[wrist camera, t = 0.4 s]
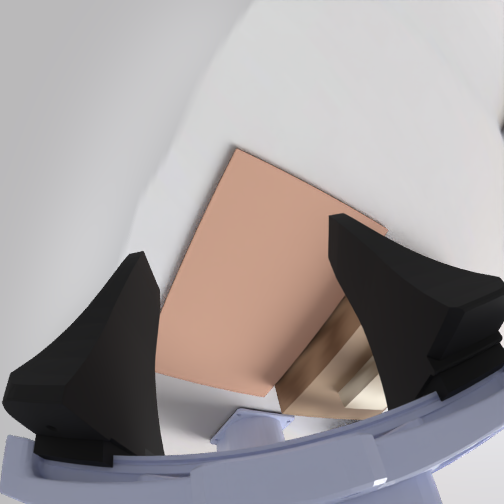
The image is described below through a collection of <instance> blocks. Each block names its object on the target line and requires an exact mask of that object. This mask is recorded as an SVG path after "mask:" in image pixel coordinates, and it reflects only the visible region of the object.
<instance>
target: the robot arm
mask: <svg viewBox="0 0 504 504" xmlns="http://www.w3.org/2000/svg"><path fill="white" fill-rule="evenodd" d="M328 259H329V261H330V264H331V267H332V269H333V272H334V274H335V277H336V279H337V281H338V283H339V284H340V286H341V288H342V290H343V292H344V293H345V295H346V297H347V299H348V301H349V303H350V304H351V306H352V308H353V310H354V312H355V314H356V315H357V317H358V319H359V321H360V323H361V325H362V328H363V330H364V332H365V335H366V338H367V340H368V343H369V346H370V348H371V351H372V354H373V357H374V360H375V363H376V366H377V369H378V373H379V376H380V380H381V383H382V387H383V390H384V395H385V399H386V403H387V407H388V411H387V412H384V413H381V414H379V415H376V416H373V417H370V418H367V419H364V420H361V421H358V422H355V423H352V424H348V425H345V426H342V427H338V428H335V429H331V430H328V431H324V432H320V433H317V434H313V435H309V436H305V437H300V438H296V439H292V440H287V441H285V438H284V434H283V429H284V428H285V427H287V426H288V425H289V424H290V423H291V422H292V421H293V420H294V416H293V415H285V414H277V413H269V412H262V411H255V410H249V409H243V408H240V409H237V410H236V412H235V413H234V414H233V415H232V416H231V417H230V419H229V420H228V421H227V422H226V423H225V424H224V425H223V427H222V428H221V429H220V430H219V431H218V432H217V433H216V434H215V435H214V437H213V438H212V439H211V440H210V443H211V444H215V445H217V452H210V453H200V454H187V455H168V456H165V454H164V449H163V444H162V439H161V433H160V426H159V418H158V410H157V399H156V383H155V358H156V347H157V337H158V328H159V319H160V289H159V287H158V285H157V282H156V280H155V278H154V275H153V273H152V271H151V268H150V266H149V263H148V261H147V258H146V256H145V253H144V251H141V252H137V253H132V254H129V255H128V256H127V257H126V258H125V260H124V261H123V262H122V263H121V265H120V266H119V267H118V269H117V270H116V271H115V273H114V274H113V275H112V276H111V278H110V279H109V280H108V282H107V283H106V284H105V286H104V287H103V288H102V290H101V291H100V292H99V293H98V295H97V296H96V297H95V298H94V300H93V301H92V302H91V303H90V304H89V306H88V307H87V308H86V309H85V310H84V311H83V313H82V314H81V315H80V316H79V317H78V318H77V319H76V320H75V321H74V322H73V323H72V324H71V325H70V326H69V327H68V328H67V330H65V331H64V332H63V333H62V334H61V335H60V336H59V337H58V338H57V339H56V340H55V341H53V342H52V343H51V344H50V345H49V346H47V348H45V349H44V350H43V351H41V352H40V353H39V354H38V355H36V356H35V357H34V358H32V359H31V360H29V361H28V362H26V363H25V364H24V365H22V366H21V367H19V368H18V369H16V370H15V371H13V372H11V374H10V377H9V380H8V383H7V387H6V390H5V394H4V397H3V401H2V404H3V406H4V408H5V410H6V411H7V412H8V414H9V415H11V416H12V417H13V418H14V419H15V420H17V421H18V422H20V423H21V424H22V425H24V426H25V427H26V428H28V429H29V430H31V431H32V432H33V433H35V434H36V438H35V441H33V440H30V439H27V438H22V437H18V436H13V435H8V436H7V440H6V446H5V452H4V459H3V465H2V473H1V482H0V492H1V494H4V495H6V496H8V497H10V498H13V499H15V500H18V501H20V502H23V503H25V504H442V501H441V498H440V495H439V492H438V490H437V487H436V484H435V481H434V479H433V476H432V473H434V472H436V471H438V470H439V469H441V468H443V467H445V466H447V465H449V464H450V463H452V462H454V461H455V460H457V459H459V458H461V457H462V456H464V455H466V454H467V453H469V452H470V451H472V450H474V449H475V448H476V447H478V446H480V445H481V444H483V443H484V442H486V441H487V440H489V439H490V438H491V437H493V436H494V435H495V434H497V433H499V432H500V431H501V430H503V429H504V348H503V347H502V345H501V344H500V342H501V340H502V335H501V334H500V333H499V331H498V330H499V329H500V327H501V325H502V324H503V322H504V282H503V281H502V279H501V278H500V277H496V276H491V275H485V274H480V273H475V272H471V271H467V270H464V269H460V268H456V267H453V266H450V265H447V264H444V263H441V262H438V261H436V260H433V259H430V258H428V257H425V256H423V255H421V254H419V253H416V252H414V251H412V250H410V249H408V248H405V247H403V246H402V245H400V244H398V243H396V242H394V241H392V240H390V239H388V238H387V237H385V236H383V235H381V234H379V233H378V232H376V231H374V230H373V229H371V228H369V227H368V226H366V225H364V224H362V223H361V222H359V221H357V220H356V219H354V218H352V217H350V216H348V215H347V214H344V213H340V214H334V215H329V236H328Z"/></svg>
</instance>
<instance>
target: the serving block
mask: <svg viewBox="0 0 504 504" xmlns="http://www.w3.org/2000/svg"><path fill="white" fill-rule="evenodd" d="M372 356H373V354H372V351H371V348H370V346H369V343H368V340H367V338H366V335H365V332H364V330H363V328H362V325H361V323H360V321H359V319H358V317H357V315H356V314H355V312H354V310H353V308H352V306H351V304H350V303H349V301H348V299H347V297H346V295H345V296H344V297H343V299H342V300H341V301H340V303H339V304H338V305H337V307H336V308H335V310H334V311H333V312H332V314H331V315H330V316H329V318H328V319H327V320H326V322H325V323H324V324H323V326H322V327H321V328H320V330H319V331H318V332H317V334H316V335H315V336H314V337H313V339H312V340H311V341H310V343H309V344H308V345H307V346H306V348H305V349H304V350H303V351H302V353H301V354H300V355H299V356H298V358H297V359H296V360H295V361H294V363H293V364H292V365H291V366H290V367H289V369H288V370H287V371H286V372H285V373H284V375H283V376H282V377H281V378H280V379H279V381H278V382H277V383H276V384H275V388H276V392H277V396H278V400H279V404H280V408H281V412H282V414H288V415H297V416H307V417H319V418H333V419H354V420H364V419H367V418H370V417H373V416H376V415H379V414H381V413H382V412H383V411H384V410H385V409H386V408H387V407H386V408H385V409H384V410H371V409H354V408H344V406H343V403H342V401H341V398H340V396H339V394H338V392H339V391H340V390H341V389H342V388H343V387H344V386H345V385H346V384H347V383H348V382H349V381H350V380H351V379H352V378H353V377H354V376H355V375H356V374H357V372H358V371H359V370H360V369H361V368H362V367H363V366H364V365H365V364H366V363H367V361H368V360H369V359H370V358H371V357H372Z"/></svg>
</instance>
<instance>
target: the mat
mask: <svg viewBox="0 0 504 504" xmlns="http://www.w3.org/2000/svg"><path fill="white" fill-rule="evenodd" d="M340 213H344V214H347V215H348V216H350V217H352V218H354V219H356V220H357V221H359V222H361V223H362V224H364V225H366V226H368V227H369V228H371V229H373V230H374V231H376V232H378V233H379V234H381V235H383V236H385V235H386V233H387V231H388V229H386V228H385V227H383V226H382V225H380V224H378V223H377V222H375V221H373V220H372V219H370V218H368V217H367V216H365V215H363V214H361V213H360V212H358V211H356V210H355V209H353V208H351V207H349V206H348V205H346V204H344V203H342V202H341V201H339V200H337V199H335V198H333V197H332V196H330V195H328V194H326V193H324V192H323V191H321V190H319V189H317V188H315V187H313V186H311V185H310V184H308V183H306V182H304V181H302V180H300V179H298V178H296V177H294V176H292V175H290V174H288V173H286V172H285V171H283V170H281V169H279V168H277V167H275V166H273V165H271V164H269V163H267V162H265V161H262V160H260V159H258V158H256V157H254V156H252V155H250V154H248V153H246V152H244V151H242V150H239V149H237V148H236V150H235V152H234V154H233V156H232V158H231V160H230V162H229V163H228V165H227V167H226V169H225V171H224V173H223V176H222V178H221V180H220V182H219V184H218V186H217V188H216V190H215V192H214V194H213V196H212V198H211V200H210V202H209V204H208V206H207V209H206V211H205V213H204V215H203V217H202V219H201V221H200V223H199V226H198V228H197V230H196V232H195V234H194V236H193V239H192V241H191V243H190V245H189V247H188V250H187V252H186V254H185V256H184V259H183V261H182V263H181V265H180V268H179V270H178V272H177V275H176V277H175V279H174V282H173V284H172V286H171V289H170V291H169V293H168V296H167V298H166V300H165V303H164V305H163V308H162V310H161V313H160V319H159V328H158V337H157V347H156V358H155V372H157V373H160V374H164V375H167V376H171V377H175V378H178V379H182V380H186V381H190V382H194V383H198V384H202V385H206V386H210V387H215V388H219V389H224V390H229V391H233V392H238V393H243V394H249V395H254V396H260V397H265V396H266V395H267V393H268V392H269V391H270V390H271V389H272V388H273V386H274V385H275V384H276V383H277V382H278V381H279V379H280V378H281V377H282V376H283V375H284V373H285V372H286V371H287V370H288V369H289V367H290V366H291V365H292V364H293V363H294V361H295V360H296V359H297V358H298V356H299V355H300V354H301V353H302V351H303V350H304V349H305V348H306V346H307V345H308V344H309V343H310V341H311V340H312V339H313V337H314V336H315V335H316V334H317V332H318V331H319V330H320V328H321V327H322V326H323V324H324V323H325V322H326V320H327V319H328V318H329V316H330V315H331V314H332V312H333V311H334V310H335V308H336V307H337V305H338V304H339V303H340V301H341V300H342V299H343V297H344V296H345V293H344V292H343V290H342V288H341V286H340V284H339V283H338V281H337V279H336V277H335V274H334V272H333V269H332V267H331V264H330V261H329V259H328V236H329V215H334V214H340Z"/></svg>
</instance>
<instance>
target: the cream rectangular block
mask: <svg viewBox="0 0 504 504" xmlns="http://www.w3.org/2000/svg"><path fill="white" fill-rule="evenodd" d="M338 394H339V396H340V398H341V401H342V403H343V406H344V408H354V409H371V410H384V409H385V408H386V407H387V403H386V399H385V395H384V390H383V387H382V383H381V380H380V376H379V373H378V369H377V366H376V363H375V360H374V357H373V356H372V357H371V358H370V359H369V360H368V361H367V363H366V364H365V365H364V366H363V367H362V368H361V369H360V370H359V371H358V372H357V374H356V375H355V376H354V377H353V378H352V379H351V380H350V381H349V382H348V383H347V384H346V385H345V386H344V387H343V388H342V389H341V390H340V391H339V392H338Z"/></svg>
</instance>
